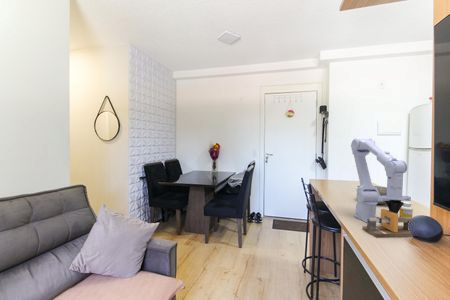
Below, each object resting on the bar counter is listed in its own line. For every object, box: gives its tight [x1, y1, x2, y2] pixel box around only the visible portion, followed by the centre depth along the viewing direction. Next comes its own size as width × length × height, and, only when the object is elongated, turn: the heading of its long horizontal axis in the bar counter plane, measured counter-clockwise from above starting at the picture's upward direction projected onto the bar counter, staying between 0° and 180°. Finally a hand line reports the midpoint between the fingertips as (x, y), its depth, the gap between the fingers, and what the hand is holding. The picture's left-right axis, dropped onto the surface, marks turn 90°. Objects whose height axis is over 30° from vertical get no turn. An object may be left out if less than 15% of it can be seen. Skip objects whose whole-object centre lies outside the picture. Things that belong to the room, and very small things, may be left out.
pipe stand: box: [361, 216, 413, 239], centre depth 103 cm, size 9×20×7 cm, turn 94°
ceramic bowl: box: [357, 185, 387, 205], centre depth 153 cm, size 22×23×10 cm
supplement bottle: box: [398, 201, 414, 219], centre depth 119 cm, size 5×5×10 cm
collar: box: [379, 208, 399, 232], centre depth 102 cm, size 8×2×8 cm, turn 4°
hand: (393, 216), depth 103 cm, fingers closed
